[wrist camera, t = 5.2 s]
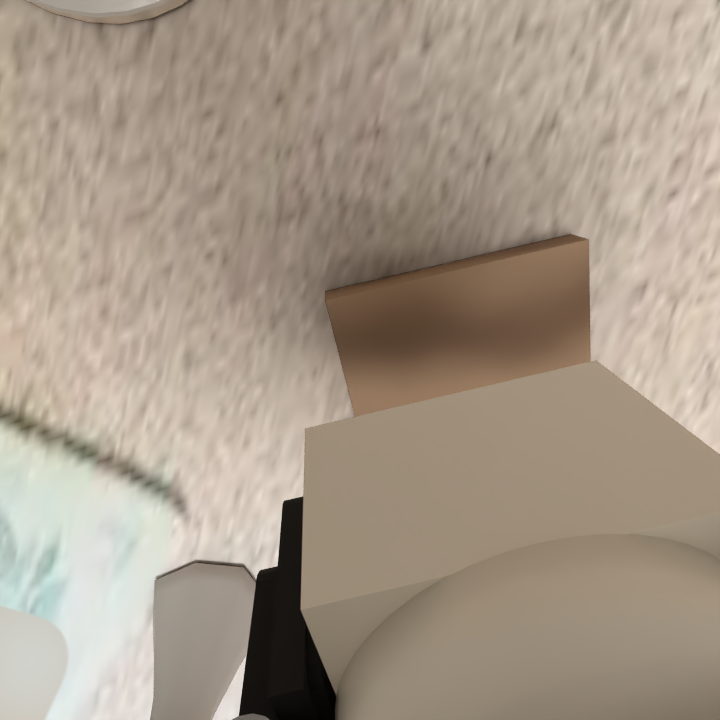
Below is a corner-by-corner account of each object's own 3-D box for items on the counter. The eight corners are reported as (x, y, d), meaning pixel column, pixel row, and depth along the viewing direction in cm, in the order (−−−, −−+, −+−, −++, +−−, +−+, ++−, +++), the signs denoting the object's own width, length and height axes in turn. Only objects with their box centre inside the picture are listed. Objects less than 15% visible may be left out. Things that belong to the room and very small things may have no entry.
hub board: (325, 291, 22) (325, 325, 17) (570, 234, 22) (638, 253, 17) (394, 563, 29) (407, 639, 25) (579, 522, 29) (628, 591, 24)
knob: (292, 422, 9) (263, 838, 4) (605, 349, 9) (1051, 660, 4) (359, 623, 12) (400, 1032, 6) (600, 568, 12) (848, 933, 6)
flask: (137, 568, 28) (46, 765, 19) (255, 550, 28) (222, 738, 19) (170, 646, 31) (106, 850, 22) (277, 630, 31) (258, 826, 22)
